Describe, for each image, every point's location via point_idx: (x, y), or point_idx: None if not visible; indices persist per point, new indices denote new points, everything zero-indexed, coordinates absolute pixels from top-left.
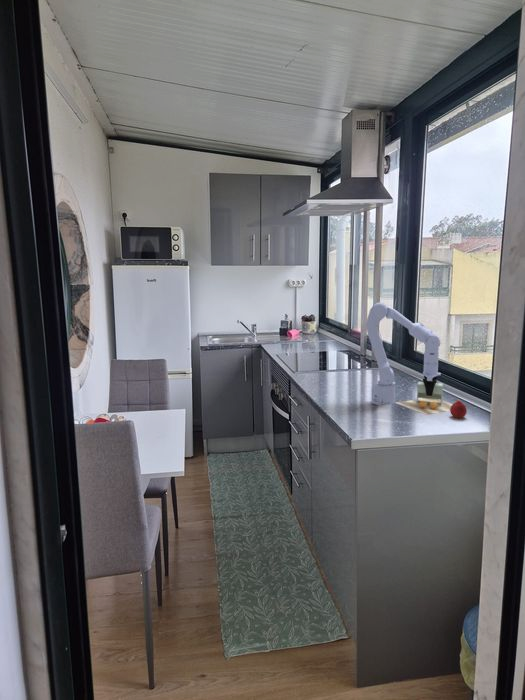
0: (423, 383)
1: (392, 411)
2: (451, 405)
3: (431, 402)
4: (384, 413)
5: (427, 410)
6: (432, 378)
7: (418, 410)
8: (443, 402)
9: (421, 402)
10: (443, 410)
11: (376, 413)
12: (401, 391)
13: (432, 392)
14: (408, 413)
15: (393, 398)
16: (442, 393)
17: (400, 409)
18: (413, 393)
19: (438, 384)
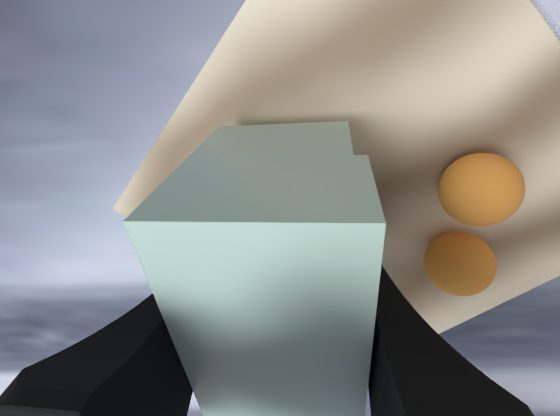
0: (274, 413)
1: (500, 365)
2: (300, 10)
3: (499, 222)
4: (545, 390)
5: (532, 213)
6: (141, 413)
7: (535, 268)
8: (221, 104)
9: (484, 289)
10: (524, 80)
11: (546, 412)
12: (74, 339)
13: (385, 273)
14: (541, 302)
15: (366, 403)
16: (196, 149)
17: (449, 337)
18: (65, 293)
19: (242, 282)
